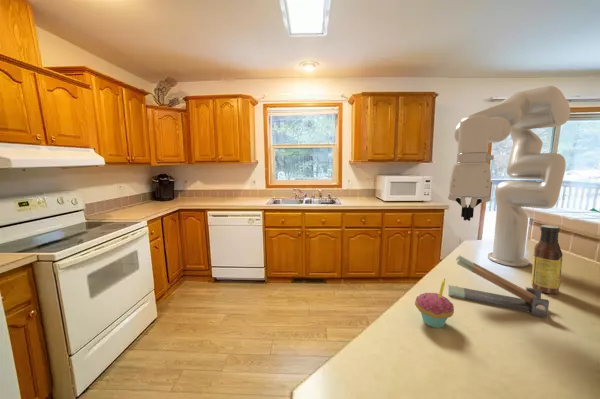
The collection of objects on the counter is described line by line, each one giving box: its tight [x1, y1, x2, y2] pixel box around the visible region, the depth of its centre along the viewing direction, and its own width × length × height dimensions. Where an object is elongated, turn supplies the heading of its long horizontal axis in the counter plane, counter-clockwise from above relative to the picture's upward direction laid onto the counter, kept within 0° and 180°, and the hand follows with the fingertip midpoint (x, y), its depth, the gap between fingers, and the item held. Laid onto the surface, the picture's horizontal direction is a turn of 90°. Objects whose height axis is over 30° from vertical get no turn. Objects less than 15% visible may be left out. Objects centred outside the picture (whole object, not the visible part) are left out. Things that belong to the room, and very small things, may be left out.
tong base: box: [447, 284, 550, 319], centre depth 72 cm, size 8×22×4 cm, turn 60°
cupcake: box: [414, 278, 455, 329], centre depth 63 cm, size 9×8×12 cm
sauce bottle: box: [530, 224, 564, 295], centre depth 76 cm, size 6×6×20 cm
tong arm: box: [455, 254, 537, 304], centre depth 71 cm, size 4×20×2 cm, turn 60°
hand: (466, 219), depth 78 cm, fingers closed
